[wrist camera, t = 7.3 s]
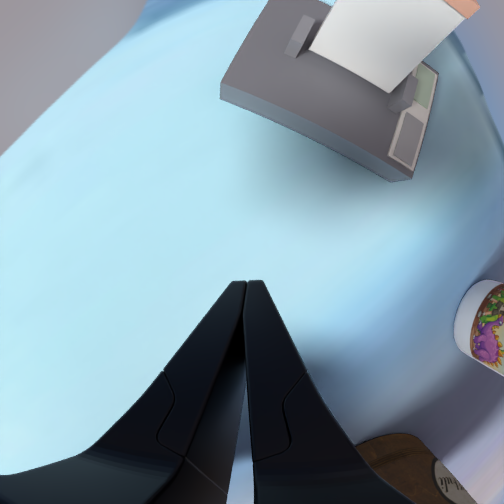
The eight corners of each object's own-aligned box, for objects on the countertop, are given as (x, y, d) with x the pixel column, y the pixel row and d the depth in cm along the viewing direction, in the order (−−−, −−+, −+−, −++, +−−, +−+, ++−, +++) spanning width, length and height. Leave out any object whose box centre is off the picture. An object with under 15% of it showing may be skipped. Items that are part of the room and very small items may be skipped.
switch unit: (390, 182, 22) (428, 176, 17) (219, 98, 20) (221, 68, 15) (419, 84, 21) (453, 65, 16) (272, 5, 19) (284, -32, 14)
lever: (384, 100, 18) (480, 7, 8) (305, 56, 17) (377, -64, 7) (387, 81, 18) (472, -7, 9) (312, 40, 18) (379, -70, 8)
